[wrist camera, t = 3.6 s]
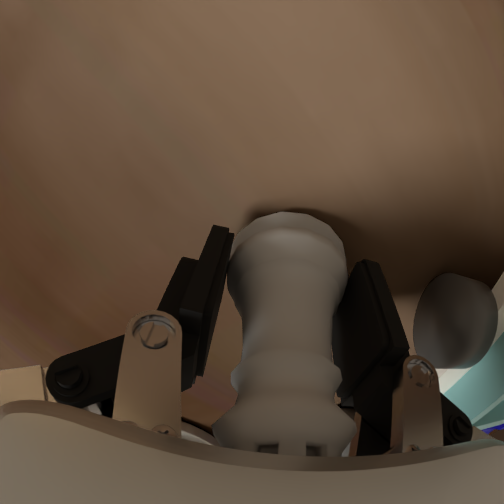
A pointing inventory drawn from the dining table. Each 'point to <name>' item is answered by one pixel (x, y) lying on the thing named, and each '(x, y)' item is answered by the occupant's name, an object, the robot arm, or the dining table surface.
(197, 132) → the dining table surface
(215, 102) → the dining table surface
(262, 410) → the rook chess piece
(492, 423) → the chassis
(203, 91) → the dining table surface
